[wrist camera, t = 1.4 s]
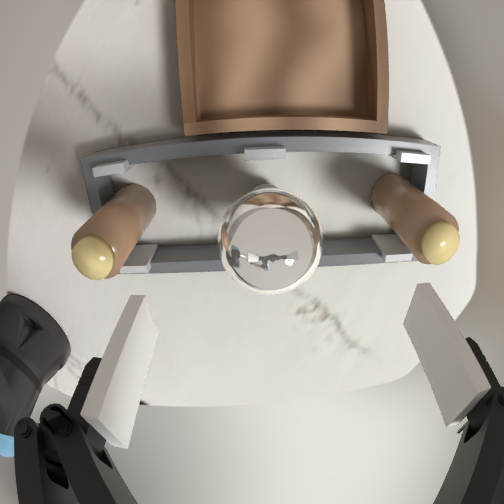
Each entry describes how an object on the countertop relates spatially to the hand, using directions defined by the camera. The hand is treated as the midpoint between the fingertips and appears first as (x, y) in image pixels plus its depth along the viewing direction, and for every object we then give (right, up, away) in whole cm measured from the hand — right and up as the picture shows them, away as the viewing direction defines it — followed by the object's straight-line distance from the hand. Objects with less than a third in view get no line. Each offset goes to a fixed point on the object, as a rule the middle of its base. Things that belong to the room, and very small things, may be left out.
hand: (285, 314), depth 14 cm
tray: (+1, +20, +6) cm, 21 cm away
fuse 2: (+12, +8, +13) cm, 20 cm away
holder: (0, +8, +13) cm, 15 cm away
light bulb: (0, +8, +13) cm, 16 cm away
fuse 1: (-13, +7, +13) cm, 20 cm away
